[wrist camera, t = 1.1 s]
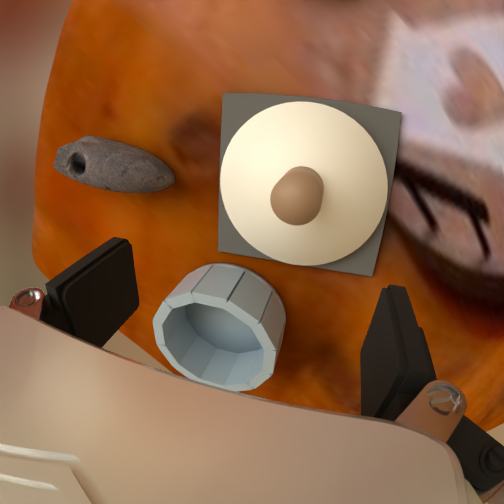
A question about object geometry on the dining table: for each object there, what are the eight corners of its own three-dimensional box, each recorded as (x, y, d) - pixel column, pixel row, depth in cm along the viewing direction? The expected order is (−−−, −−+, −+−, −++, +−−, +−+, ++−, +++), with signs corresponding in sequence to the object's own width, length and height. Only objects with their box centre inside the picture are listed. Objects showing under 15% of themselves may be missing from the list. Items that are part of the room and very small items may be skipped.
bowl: (293, 273, 33) (282, 310, 27) (279, 363, 39) (268, 401, 33) (177, 253, 36) (146, 281, 30) (184, 340, 42) (162, 372, 36)
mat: (400, 112, 24) (401, 112, 23) (371, 274, 31) (372, 276, 31) (224, 93, 27) (223, 93, 27) (219, 249, 34) (218, 251, 34)
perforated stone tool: (190, 156, 31) (155, 167, 25) (180, 200, 33) (146, 220, 27) (91, 127, 32) (50, 134, 26) (86, 166, 35) (47, 178, 29)
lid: (395, 116, 24) (412, 115, 18) (368, 271, 30) (373, 304, 25) (227, 97, 27) (201, 93, 21) (222, 247, 34) (200, 273, 28)
